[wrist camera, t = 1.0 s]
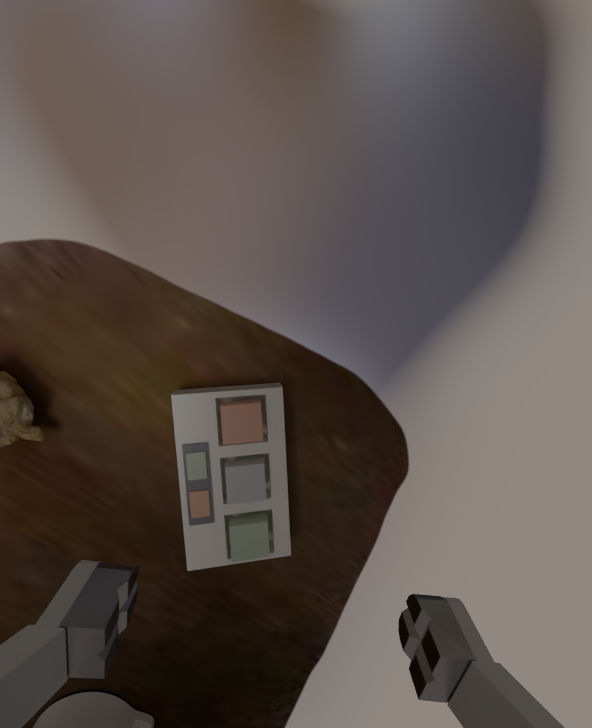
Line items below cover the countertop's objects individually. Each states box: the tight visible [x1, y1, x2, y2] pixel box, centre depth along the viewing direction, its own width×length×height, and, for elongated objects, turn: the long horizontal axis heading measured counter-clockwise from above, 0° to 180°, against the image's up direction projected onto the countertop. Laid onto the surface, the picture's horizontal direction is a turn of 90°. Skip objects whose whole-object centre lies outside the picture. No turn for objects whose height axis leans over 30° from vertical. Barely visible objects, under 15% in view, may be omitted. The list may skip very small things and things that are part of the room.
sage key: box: [229, 513, 270, 562], centre depth 42 cm, size 5×5×2 cm
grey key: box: [225, 457, 266, 505], centre depth 41 cm, size 5×5×2 cm
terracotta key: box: [220, 399, 263, 445], centre depth 40 cm, size 5×5×2 cm
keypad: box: [171, 383, 291, 571], centre depth 43 cm, size 24×14×4 cm, turn 3°
